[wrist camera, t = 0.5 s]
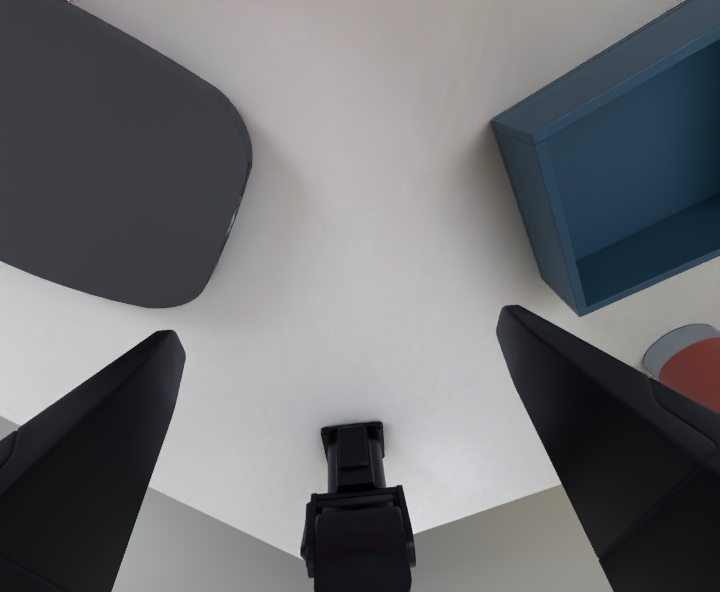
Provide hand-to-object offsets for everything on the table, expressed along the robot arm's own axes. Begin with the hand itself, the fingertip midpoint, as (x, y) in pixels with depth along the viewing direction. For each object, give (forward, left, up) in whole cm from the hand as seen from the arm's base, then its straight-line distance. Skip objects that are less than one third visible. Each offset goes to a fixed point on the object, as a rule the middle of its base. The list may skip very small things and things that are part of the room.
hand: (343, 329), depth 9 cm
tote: (0, -18, -15) cm, 23 cm away
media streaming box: (+2, +13, -15) cm, 20 cm away
